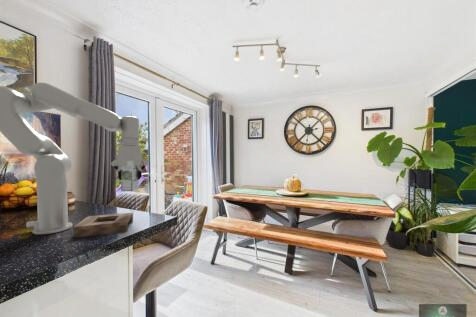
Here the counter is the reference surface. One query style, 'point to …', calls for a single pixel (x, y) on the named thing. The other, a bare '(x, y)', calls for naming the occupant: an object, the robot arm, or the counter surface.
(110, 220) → the walnut stand
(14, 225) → the counter surface
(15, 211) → the counter surface
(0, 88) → the robot arm
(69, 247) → the counter surface
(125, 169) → the syrup box
